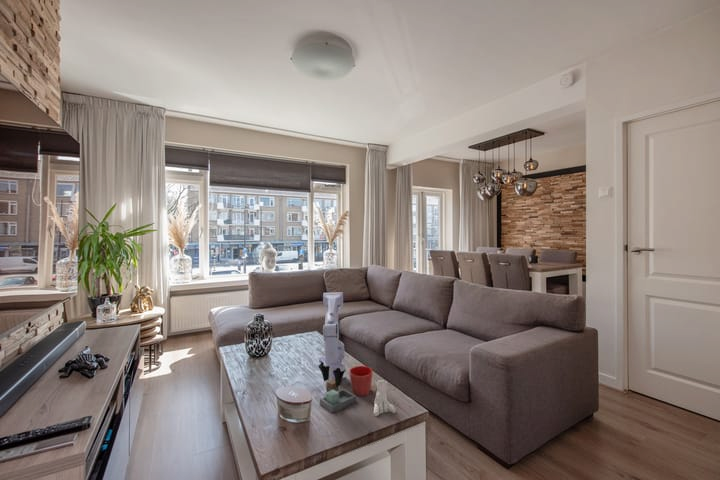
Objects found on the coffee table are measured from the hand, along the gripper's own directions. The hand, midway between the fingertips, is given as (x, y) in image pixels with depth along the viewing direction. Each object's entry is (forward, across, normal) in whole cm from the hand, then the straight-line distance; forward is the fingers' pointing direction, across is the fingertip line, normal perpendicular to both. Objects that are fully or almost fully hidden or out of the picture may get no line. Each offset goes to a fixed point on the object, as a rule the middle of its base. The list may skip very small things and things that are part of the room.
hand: (332, 382), depth 135 cm
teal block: (+9, +1, -1) cm, 9 cm away
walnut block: (+9, -8, +7) cm, 14 cm away
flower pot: (+10, +2, +16) cm, 19 cm away
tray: (+9, +1, +2) cm, 10 cm away
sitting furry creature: (+10, +19, +10) cm, 23 cm away
